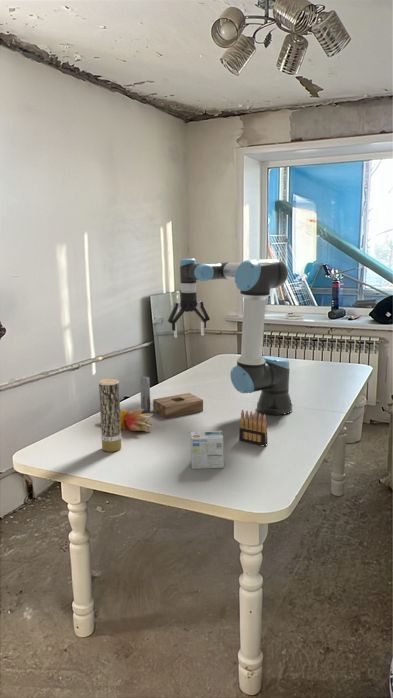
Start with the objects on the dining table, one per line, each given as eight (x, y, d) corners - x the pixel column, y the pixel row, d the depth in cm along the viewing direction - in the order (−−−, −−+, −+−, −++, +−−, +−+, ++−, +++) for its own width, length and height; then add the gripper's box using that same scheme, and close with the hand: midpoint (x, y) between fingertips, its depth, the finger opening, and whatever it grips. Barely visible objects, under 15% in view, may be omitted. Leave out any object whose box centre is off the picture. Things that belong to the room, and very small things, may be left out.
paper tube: (112, 443, 192) (109, 377, 187) (125, 448, 188) (122, 380, 183) (98, 449, 187) (94, 381, 182) (111, 454, 183) (107, 385, 178)
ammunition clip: (238, 440, 194) (239, 409, 191) (241, 439, 195) (241, 408, 193) (265, 446, 188) (266, 414, 186) (267, 445, 190) (268, 413, 187)
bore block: (203, 410, 227) (203, 399, 226) (166, 418, 218) (165, 406, 217) (189, 403, 237) (189, 392, 236) (153, 410, 228) (153, 399, 227)
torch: (105, 430, 216) (155, 433, 203) (92, 427, 209) (143, 430, 196) (108, 410, 218) (158, 412, 205) (96, 406, 211) (146, 408, 198)
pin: (152, 414, 222) (151, 378, 219) (143, 416, 220) (142, 379, 217) (148, 412, 226) (147, 376, 222) (139, 413, 224) (138, 377, 220)
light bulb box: (222, 460, 177) (222, 429, 175) (224, 468, 171) (224, 437, 169) (190, 460, 177) (190, 430, 175) (191, 469, 171) (190, 438, 168)
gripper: (210, 290, 255) (210, 333, 260) (160, 292, 247) (162, 336, 252) (216, 291, 248) (216, 335, 253) (165, 293, 241) (166, 339, 245)
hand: (189, 336), depth 252 cm, fingers open, 13 cm apart
